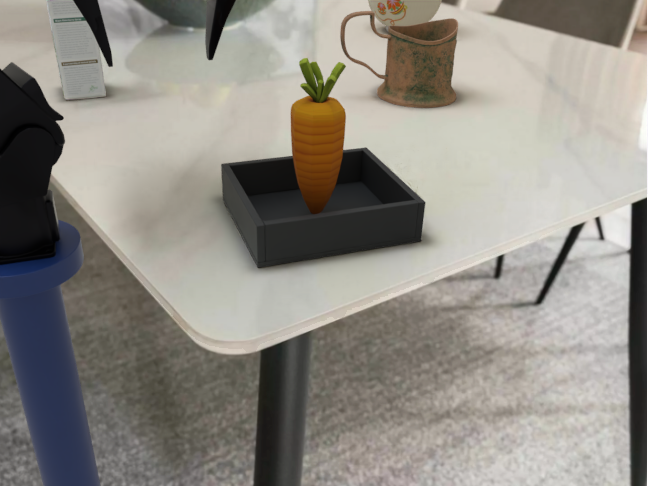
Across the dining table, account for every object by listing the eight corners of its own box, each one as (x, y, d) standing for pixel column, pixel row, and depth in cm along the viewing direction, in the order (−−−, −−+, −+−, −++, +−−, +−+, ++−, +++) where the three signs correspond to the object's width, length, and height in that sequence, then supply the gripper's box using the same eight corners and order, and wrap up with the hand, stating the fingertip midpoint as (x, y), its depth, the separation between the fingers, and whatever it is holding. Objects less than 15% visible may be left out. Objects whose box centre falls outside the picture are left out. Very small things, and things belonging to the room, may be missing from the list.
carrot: (345, 206, 67) (352, 52, 59) (336, 230, 62) (343, 67, 55) (295, 201, 67) (297, 48, 60) (284, 224, 63) (283, 62, 56)
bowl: (345, 29, 136) (347, -24, 131) (398, 19, 146) (402, -31, 141) (405, 45, 126) (410, -12, 121) (458, 33, 136) (464, -20, 131)
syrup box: (107, 97, 95) (92, -13, 88) (63, 101, 93) (44, -11, 86) (102, 85, 100) (88, -20, 93) (60, 88, 98) (42, -18, 90)
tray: (257, 268, 57) (256, 226, 55) (222, 200, 68) (220, 163, 66) (421, 241, 62) (425, 201, 60) (364, 182, 73) (366, 147, 71)
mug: (328, 87, 102) (331, 4, 96) (437, 81, 106) (446, 1, 100) (350, 112, 92) (354, 21, 86) (469, 105, 96) (481, 17, 90)
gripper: (232, -128, 65) (238, 37, 73) (23, -132, 60) (54, 47, 67) (263, -123, 56) (266, 64, 64) (20, -128, 51) (56, 79, 58)
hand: (161, 62), depth 64 cm, fingers open, 9 cm apart
